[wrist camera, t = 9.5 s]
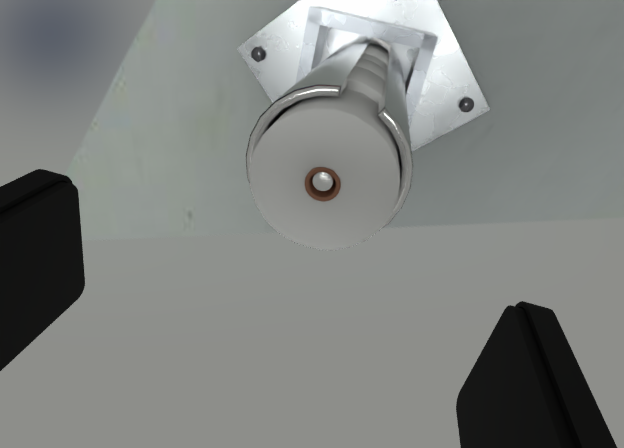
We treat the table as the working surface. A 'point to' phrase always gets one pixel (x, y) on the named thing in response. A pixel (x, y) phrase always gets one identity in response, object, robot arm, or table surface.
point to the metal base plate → (382, 25)
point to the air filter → (335, 149)
